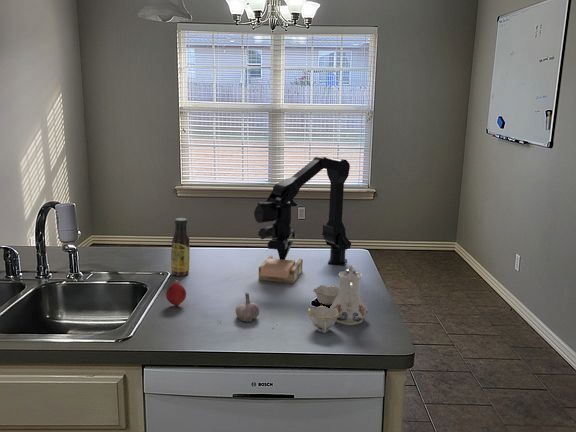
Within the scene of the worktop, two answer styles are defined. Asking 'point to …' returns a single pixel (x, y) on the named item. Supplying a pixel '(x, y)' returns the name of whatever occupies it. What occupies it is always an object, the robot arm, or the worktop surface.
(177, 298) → the onion
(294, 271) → the birch box
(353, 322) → the chinaware
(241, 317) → the garlic bulb
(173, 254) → the sauce bottle
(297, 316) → the worktop surface
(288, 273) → the cover plate
